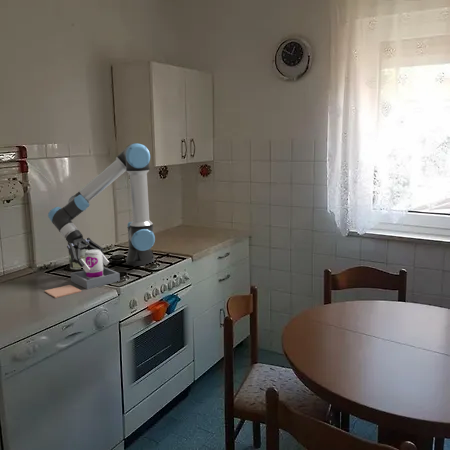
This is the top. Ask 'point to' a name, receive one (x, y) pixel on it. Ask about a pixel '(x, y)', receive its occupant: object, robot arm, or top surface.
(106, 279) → the parts tub
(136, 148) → the robot arm
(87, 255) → the supplement can
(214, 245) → the top surface
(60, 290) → the terracotta tile
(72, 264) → the coffee can
